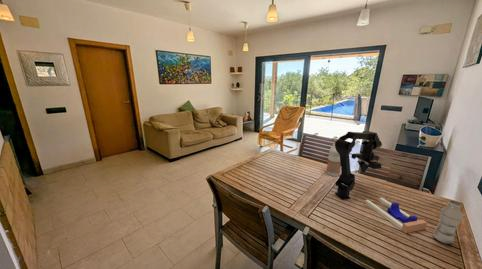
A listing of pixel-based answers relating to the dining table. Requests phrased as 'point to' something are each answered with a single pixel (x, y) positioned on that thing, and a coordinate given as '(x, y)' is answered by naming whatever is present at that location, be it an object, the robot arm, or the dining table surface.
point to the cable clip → (397, 214)
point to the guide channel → (404, 227)
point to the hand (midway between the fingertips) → (363, 172)
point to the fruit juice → (333, 161)
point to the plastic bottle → (448, 222)
